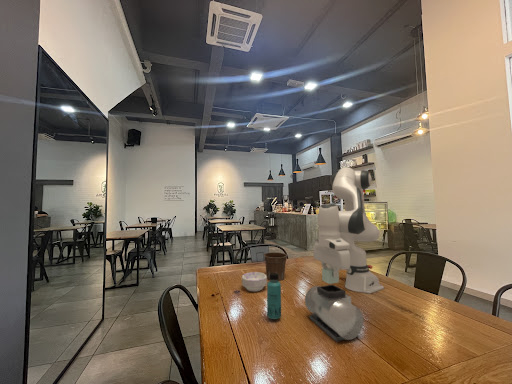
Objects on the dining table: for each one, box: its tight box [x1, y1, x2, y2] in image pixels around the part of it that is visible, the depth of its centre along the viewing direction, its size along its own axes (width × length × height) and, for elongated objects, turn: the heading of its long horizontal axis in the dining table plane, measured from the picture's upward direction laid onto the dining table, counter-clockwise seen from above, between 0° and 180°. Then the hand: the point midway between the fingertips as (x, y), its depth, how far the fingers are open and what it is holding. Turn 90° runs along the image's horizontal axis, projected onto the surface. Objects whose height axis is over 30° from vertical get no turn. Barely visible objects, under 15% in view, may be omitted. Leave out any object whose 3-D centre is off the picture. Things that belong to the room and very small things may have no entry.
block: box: [321, 264, 340, 285], centre depth 93 cm, size 5×4×8 cm
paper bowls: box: [241, 271, 268, 292], centre depth 135 cm, size 15×15×8 cm
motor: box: [304, 284, 364, 343], centre depth 94 cm, size 12×26×16 cm, turn 19°
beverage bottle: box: [266, 273, 282, 320], centre depth 99 cm, size 6×7×20 cm
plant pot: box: [263, 251, 288, 282], centre depth 154 cm, size 16×16×16 cm
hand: (330, 274), depth 93 cm, fingers closed on block, 4 cm apart
